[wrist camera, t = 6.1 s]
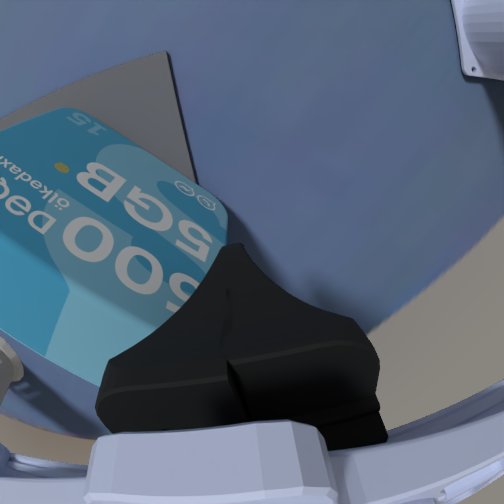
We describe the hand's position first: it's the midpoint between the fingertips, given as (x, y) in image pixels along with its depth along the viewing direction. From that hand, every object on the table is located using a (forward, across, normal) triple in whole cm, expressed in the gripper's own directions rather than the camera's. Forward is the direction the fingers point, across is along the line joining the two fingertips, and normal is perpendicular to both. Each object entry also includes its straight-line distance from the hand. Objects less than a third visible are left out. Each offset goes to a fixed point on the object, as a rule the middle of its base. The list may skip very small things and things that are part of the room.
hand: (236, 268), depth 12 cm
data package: (+9, +6, -2) cm, 11 cm away
